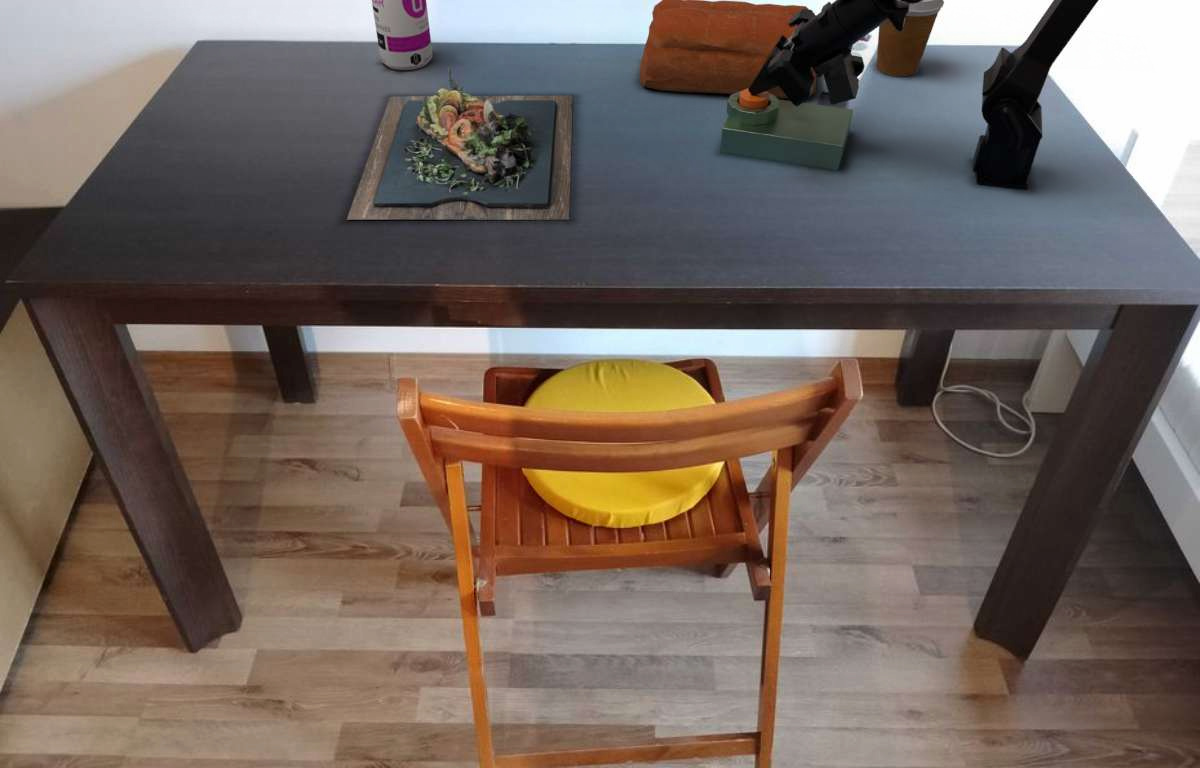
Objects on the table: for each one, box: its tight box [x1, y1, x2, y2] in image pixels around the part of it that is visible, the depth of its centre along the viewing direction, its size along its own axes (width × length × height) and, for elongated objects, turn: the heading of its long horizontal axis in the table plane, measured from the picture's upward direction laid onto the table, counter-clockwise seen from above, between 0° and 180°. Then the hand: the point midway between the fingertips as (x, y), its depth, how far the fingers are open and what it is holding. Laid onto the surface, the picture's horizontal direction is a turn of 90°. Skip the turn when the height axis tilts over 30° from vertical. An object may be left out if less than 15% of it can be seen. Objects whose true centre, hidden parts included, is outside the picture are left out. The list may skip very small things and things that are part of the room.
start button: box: [739, 89, 769, 109], centre depth 133 cm, size 4×4×2 cm
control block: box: [719, 91, 854, 172], centre depth 134 cm, size 16×11×6 cm
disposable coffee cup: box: [876, 0, 945, 77], centre depth 150 cm, size 10×10×12 cm
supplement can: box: [371, 0, 433, 71], centre depth 151 cm, size 8×8×15 cm
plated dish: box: [346, 66, 574, 221], centre depth 132 cm, size 35×28×7 cm
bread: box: [638, 0, 817, 100], centre depth 148 cm, size 16×27×11 cm, turn 81°
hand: (750, 92), depth 133 cm, fingers closed, pressing on start button
